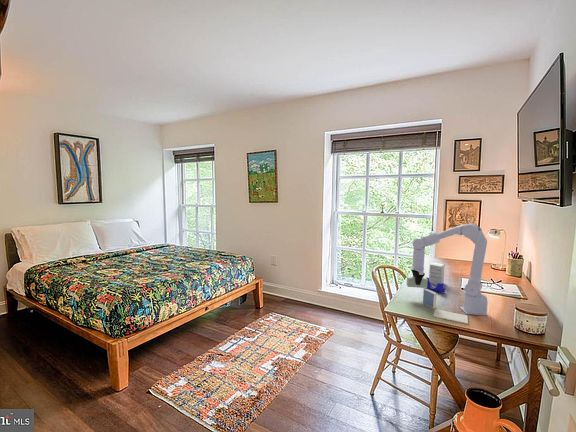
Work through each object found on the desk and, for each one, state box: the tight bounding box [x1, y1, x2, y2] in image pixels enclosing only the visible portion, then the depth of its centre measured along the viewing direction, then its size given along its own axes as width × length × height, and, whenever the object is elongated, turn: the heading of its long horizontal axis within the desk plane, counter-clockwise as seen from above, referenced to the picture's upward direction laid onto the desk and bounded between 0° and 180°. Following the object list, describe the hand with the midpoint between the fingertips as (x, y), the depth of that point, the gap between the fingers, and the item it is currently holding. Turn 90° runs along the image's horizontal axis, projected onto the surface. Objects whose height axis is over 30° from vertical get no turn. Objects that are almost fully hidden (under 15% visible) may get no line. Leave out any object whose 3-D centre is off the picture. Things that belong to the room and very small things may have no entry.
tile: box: [422, 288, 438, 310], centre depth 152 cm, size 2×7×8 cm, turn 20°
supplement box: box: [428, 261, 445, 286], centre depth 187 cm, size 7×7×13 cm
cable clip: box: [424, 276, 446, 295], centre depth 176 cm, size 12×4×6 cm, turn 22°
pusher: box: [406, 275, 428, 289], centre depth 162 cm, size 10×3×5 cm, turn 80°
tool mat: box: [433, 308, 469, 325], centre depth 140 cm, size 14×9×1 cm, turn 60°
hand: (417, 283), depth 162 cm, fingers closed on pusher, 3 cm apart
